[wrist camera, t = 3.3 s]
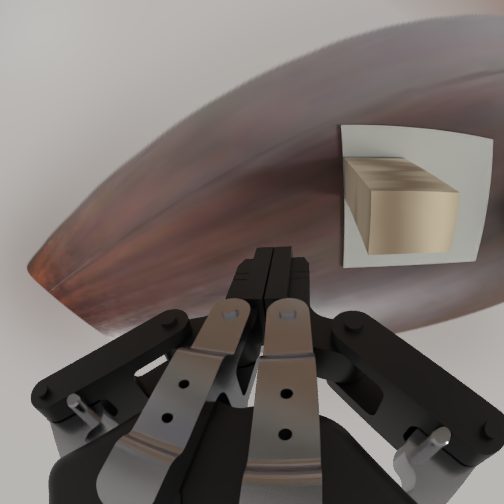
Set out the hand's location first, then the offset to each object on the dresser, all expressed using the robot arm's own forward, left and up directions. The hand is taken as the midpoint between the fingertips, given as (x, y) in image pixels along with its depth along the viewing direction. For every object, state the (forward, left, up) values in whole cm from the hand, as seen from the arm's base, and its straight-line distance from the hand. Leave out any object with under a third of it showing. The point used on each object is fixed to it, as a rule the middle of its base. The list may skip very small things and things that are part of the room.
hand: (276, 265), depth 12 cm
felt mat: (-14, +3, -15) cm, 21 cm away
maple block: (-8, 0, -15) cm, 17 cm away
